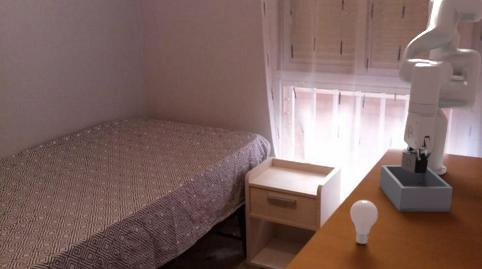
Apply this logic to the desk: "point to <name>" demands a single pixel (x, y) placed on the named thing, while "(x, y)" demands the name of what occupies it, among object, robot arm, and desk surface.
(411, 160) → the dice cube
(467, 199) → the desk surface
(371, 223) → the lightbulb
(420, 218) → the desk surface
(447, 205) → the box
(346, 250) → the desk surface
